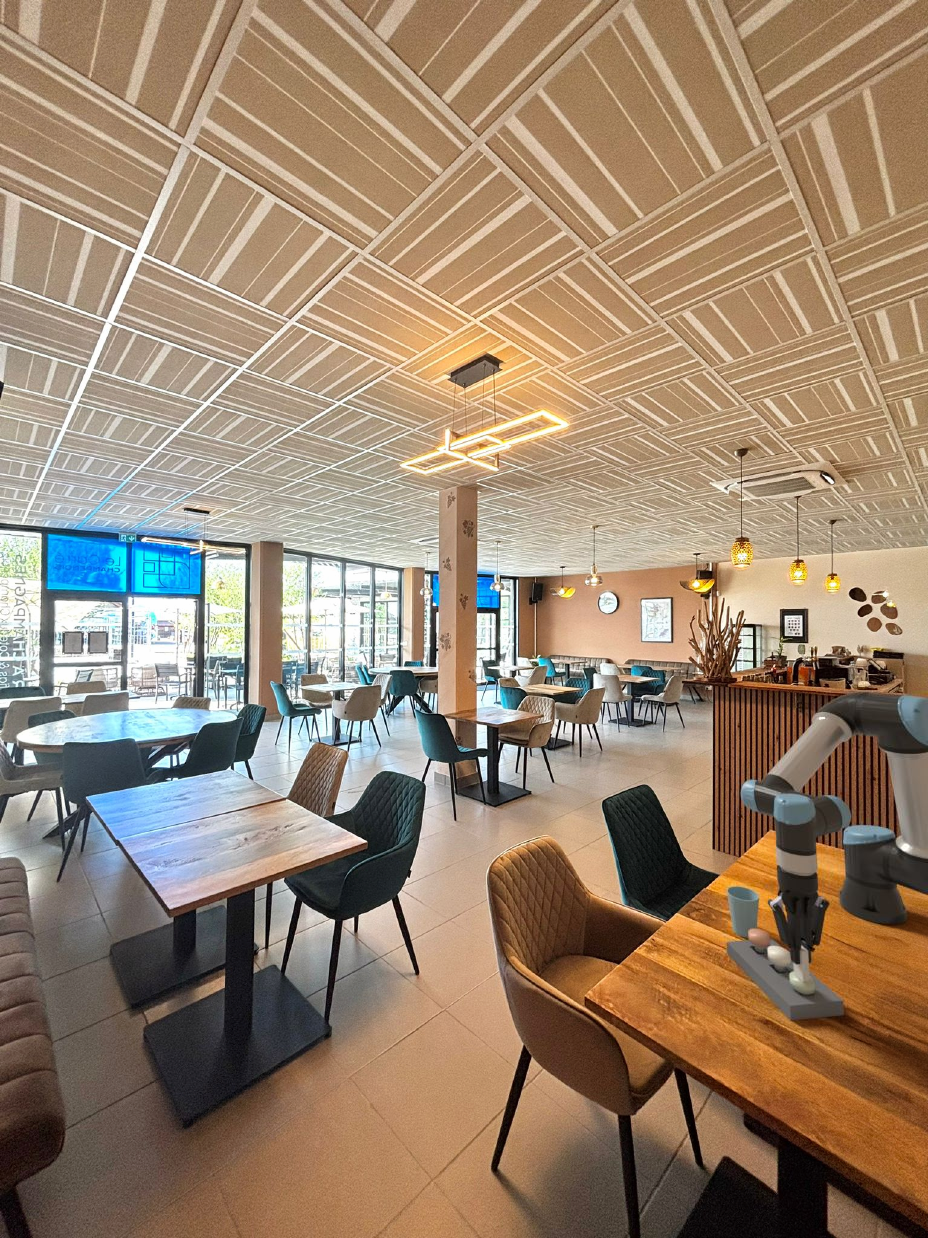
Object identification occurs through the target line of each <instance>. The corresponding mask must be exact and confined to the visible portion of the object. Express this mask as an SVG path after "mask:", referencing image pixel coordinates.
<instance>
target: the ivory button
mask: <svg viewBox="0 0 928 1238" xmlns="http://www.w3.org/2000/svg"><path fill="white" fill-rule="evenodd" d="M768 959H769V960H770V961H771V962H772V963H774V964H775V970H777V971H778V972H785V966H790V965H791V958H790V950H787V949H786V948H784V947H782V946H781V947H779V946H770V947H768Z"/></svg>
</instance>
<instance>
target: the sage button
mask: <svg viewBox="0 0 928 1238" xmlns="http://www.w3.org/2000/svg"><path fill="white" fill-rule="evenodd" d="M789 976H790V985H791V987H792V988H793V989H795V990H796V991H797V992H798V993H799V994H800V995H801V996H804V995H808V994H813V993H815V981H814V979H813V978H812V977H811V976H809V980H810V981H809V982H803V981H801V980H800V979H799V978H798V977H797V976H796V975H795V974H794V972H791V973H790V974H789Z"/></svg>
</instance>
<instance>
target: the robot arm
mask: <svg viewBox="0 0 928 1238" xmlns="http://www.w3.org/2000/svg"><path fill="white" fill-rule="evenodd" d="M857 735H858V736H859V735H860V736H861V735H862V736H869V737H874V738H876V741H877V746H878V748H879V749H880V750H881V751H882V752H884V753H886V757H887V763H888V767H889V773H890V777H891V778H890V779H891V783H892V785H891V786H892V791H893V795H894V801H895V806H896V807H895V808H896V812H897V817H898V823H899V828H900V835H899V836H898V837H896V834H895V832H894V831H893V830H891V829H890V828H886V827H883V826H878V825H877V826H876V825H867V824H866V825H865V824H864V825H863V824H861V825H859V824H857V825H850V823H851V821H852V814H851V813H852V812H851V810H850V808H849V807H848V805H847V803H845V802H844V801H843V800H842V799H841V798H839V797H837V796H835V795H829V794H828V795H825V794H823V795H819V796H815V795H811V794H807V793H805V792H804V793H803V792H800V791H801V790H802V789H803V787H805V785H806V784H807V783H808V781H809V780H810V779H811V778H812V777H813V776H814V774H815V773H816V772H817V771H818V770H819V769H820V767H821V766H822V765H823V764H824V762H825V761H826V760H827V759H828V758H829V757H830V756H831V754H832V753H833V752H834V751H835V749H836V748H837V747H838V746H839V745H840V743H843V742H844V743H845V742H847V741H849V740H850V739H851V738H852V737H853V736H857ZM772 767H773V768H772V769H770V771H769V772H768V773H767V774H766V775H764V777H763V778H762V780H760V781H759V780H758V779H749V780H746V781H745V782H743V785H742V787H741V789H740V797H741V798H740V799H741V801H742V804H743V805H744V806H745V807H746V808H747V809H749V810H751V811H754V812H757V813H759V814H761V815H766V816H770V817H773V819H774V829H775V830H774V831H775V855H776V863H777V865H776V878H777V879H776V880H777V884H778V887H779V888H778V891H777V897H776V898H774V899H773V900H772V898H771V899H768V900H767V905H768V906H769V907H770V908H771V910H772V914H773V917H774V921H775V925H776V929H777V932H778V935H779V936H778V937H779V940H780V942H782V943H783V944H784V945H785V946H787V948H788V949H789V952H790V958H791V961H793V964H794V974H795V975H796V976H797V977H798V978H799V979H800V980H801V981H803V982H809V981H810V980H809V971H810V964H811V963H812V953H814V952H815V950H816V948H814V946H815V947H819V946H820V944H821V940H822V934H823V927H824V923H825V917H826V912H827V910H828V908H829V906H830V902H829V900H826V899H825V898H824V897H822V896H821V895H819V892H818V890H819V879H818V877H819V876H818V854H817V838H819V837H822V836H825V835H829V834H833V833H838V832H839V831H841V830H842V829H844V830H843V841H842V843H843V852H844V854H843V855H844V857H843V858H844V870H845V871H844V872H845V874H844V875H845V876H844V877H845V878H844V880H843V882H842V883H843V884H842V886H841V887H842V888H841V890H840V891H839V895H838V901H839V905H840V906H841V907H842V909H844V910H845V911H847V912H848V913H850V914H852V915H853V916H856V917H858V918H860V919H863V920H866V921H870V922H873V923H876V924H877V923H879V924H882V925H901V924H904V923H905V922H907V920H908V912H907V908H906V906H905V904H904V901H903V898H902V896H901V894H900V892H899V890H898V889H899V888H898V885H899V886H900V887H901V886H902V887H904V888H906V889H908V890H911V891H913V892H917V893H920V894H923V895H926V896H928V698H927V697H922V696H914V695H912V694H894V693H893V694H892V693H891V694H890V693H881V692H869V691H854V692H853V691H852V692H850V693H846V694H844V695H843V694H842V695H840V696H839V697H837V698H834V699H832V700H831V701H829V702H827V703H826V704H824V705H823V706H822V707H820V709H818V710H817V711H816V712H815V714H814V715H813V716H812V718H811V725H810V726H809V727H808V728H807V729H806V730H805V732H804V733H802V735H800V737H799V738H798V739H797V740H796V741H795V743H794V744H793V745H792V746H791V747H790V748H789V749H788V751H787V752H786V753H785V754H784V755H783V756H782V757H781V758H780V759H779V760H778V762H777V763H776V764H775V765H774V766H772ZM849 825H850V826H849ZM784 910H785V912H784Z"/></svg>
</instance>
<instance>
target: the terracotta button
mask: <svg viewBox="0 0 928 1238" xmlns="http://www.w3.org/2000/svg"><path fill="white" fill-rule="evenodd" d="M748 937H749V938H748V940H749V941H750V942H751V943H752V944H754V945H755V951H757V952H758V953H764V947H769V946H770V938H771V936H770V934H769V933H768V932H767V931H765V930H762V929H760V928H757V929H750V930H749V931H748Z"/></svg>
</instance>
